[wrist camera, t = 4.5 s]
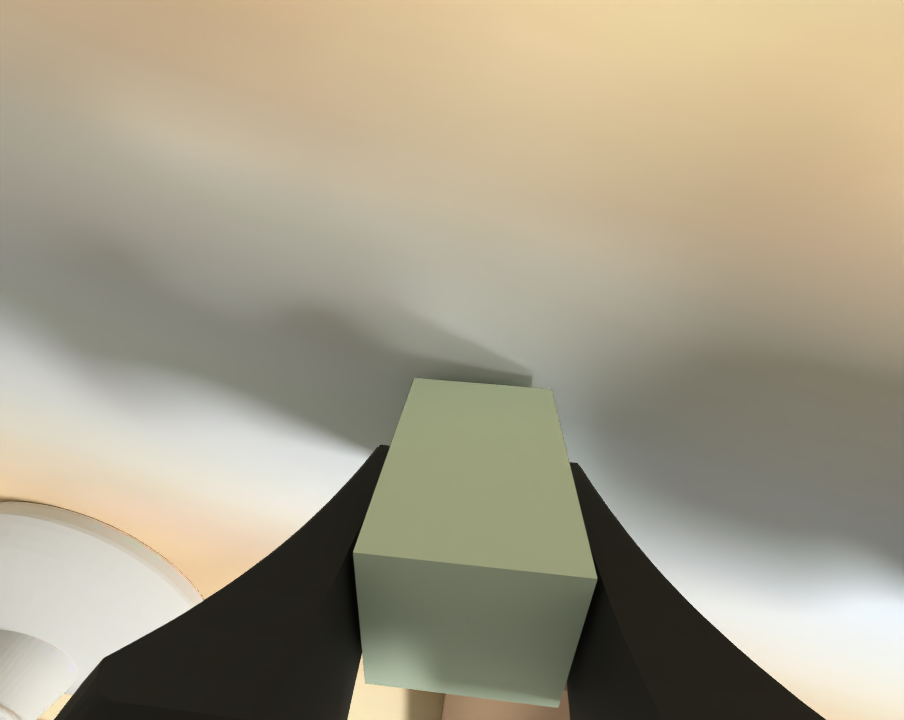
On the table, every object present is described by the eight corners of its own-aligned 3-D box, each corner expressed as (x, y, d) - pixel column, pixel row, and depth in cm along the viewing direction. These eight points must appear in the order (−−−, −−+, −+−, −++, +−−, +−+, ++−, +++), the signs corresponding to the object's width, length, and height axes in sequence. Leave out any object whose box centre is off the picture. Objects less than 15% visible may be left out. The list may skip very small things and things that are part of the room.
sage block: (551, 389, 12) (597, 578, 7) (533, 492, 14) (558, 707, 9) (414, 377, 12) (352, 552, 7) (414, 481, 14) (365, 683, 9)
